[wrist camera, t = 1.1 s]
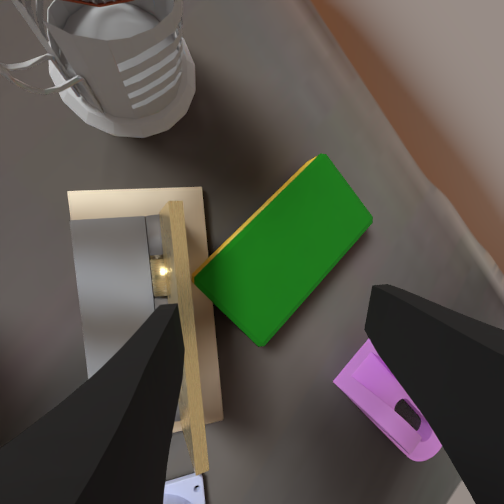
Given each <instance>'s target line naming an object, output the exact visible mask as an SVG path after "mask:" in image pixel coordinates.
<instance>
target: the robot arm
mask: <svg viewBox="0 0 504 504" xmlns="http://www.w3.org/2000/svg"><path fill="white" fill-rule="evenodd" d="M364 330H365V331H366V333H367V335H368V337H369V339H370V341H371V343H372V345H373V346H374V348H375V350H376V351H377V353H378V355H379V356H380V357H381V359H382V360H383V362H384V363H385V364H386V366H387V367H388V369H389V370H390V371H391V373H392V374H393V375H394V377H395V378H396V379H397V381H398V382H399V383H400V385H401V386H402V387H403V389H404V390H405V391H406V393H407V394H408V396H409V397H410V398H411V400H412V401H413V402H414V404H415V405H416V406H417V408H418V409H419V410H420V412H421V413H422V415H423V416H424V418H425V419H426V421H427V422H428V423H429V425H430V427H431V428H432V430H433V432H434V433H435V435H436V436H437V438H438V440H439V441H440V443H441V445H442V446H443V448H444V449H445V451H446V453H447V454H448V456H449V458H450V459H451V461H452V463H453V465H454V466H455V468H456V470H457V472H458V473H459V475H460V477H461V478H462V480H463V482H464V484H465V485H466V487H467V489H468V491H469V492H470V494H471V496H472V498H473V500H474V501H475V503H476V504H504V330H502V329H499V328H496V327H494V326H491V325H488V324H486V323H483V322H481V321H478V320H475V319H473V318H470V317H468V316H465V315H463V314H460V313H458V312H455V311H453V310H451V309H448V308H446V307H443V306H441V305H439V304H436V303H434V302H432V301H429V300H427V299H424V298H422V297H420V296H417V295H415V294H413V293H410V292H408V291H405V290H403V289H400V288H397V287H395V286H391V285H388V284H385V285H374V286H372V291H371V296H370V302H369V307H368V312H367V318H366V323H365V329H364ZM184 354H185V347H184V340H183V334H182V327H181V321H180V314H179V308H178V303H174V304H163V305H159V306H158V307H157V308H156V309H155V311H154V312H153V313H152V314H151V315H150V316H149V317H148V319H147V320H146V321H145V322H144V323H143V324H142V325H141V327H140V328H139V329H138V330H137V331H136V332H135V333H134V334H133V335H132V337H131V338H130V339H129V340H128V341H127V342H126V343H125V344H124V345H123V346H122V347H121V348H120V349H119V350H118V351H117V352H116V353H115V354H114V355H113V356H112V357H111V358H110V359H109V360H108V361H107V362H106V363H105V364H104V365H103V366H102V367H101V368H100V369H99V370H98V371H97V372H96V373H95V374H94V375H93V376H92V377H91V378H89V379H88V380H87V381H86V382H85V383H84V384H83V385H81V386H80V387H79V388H78V389H77V390H76V391H74V392H73V393H72V394H71V395H70V396H69V397H67V398H66V399H65V400H64V401H62V402H61V403H60V404H59V405H58V406H56V407H55V408H54V409H52V410H51V411H50V412H48V413H47V414H46V415H44V416H43V417H42V418H41V419H39V420H38V421H37V422H35V423H34V424H33V425H31V426H30V427H29V428H27V429H26V430H25V431H23V432H22V433H21V434H20V435H18V436H17V437H16V438H14V439H13V440H11V441H10V442H9V443H7V444H6V445H4V446H3V447H2V448H0V504H205V495H204V485H203V476H202V474H199V475H197V476H196V475H195V473H193V474H190V475H186V476H183V477H179V478H176V479H173V480H169V481H166V482H165V480H166V470H167V462H168V455H169V448H170V443H171V438H172V432H173V427H174V422H175V417H176V411H177V406H178V401H179V395H180V390H181V385H182V379H183V369H184ZM197 485H199V487H197V488H195V486H197Z"/></svg>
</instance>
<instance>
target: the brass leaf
mask: <svg viewBox="0 0 504 504" xmlns="http://www.w3.org/2000/svg"><path fill="white" fill-rule="evenodd" d="M159 218H160V228H161V238H162V247H163V257H164V258H158V259H151V260H150V263H151V273H152V282H153V292H154V296H168V304H174V303H178V308H179V314H180V321H181V327H182V334H183V340H184V347H185V354H184V369H183V379H182V385H181V390H180V395H179V401H178V404H179V414H180V423H181V427H182V430H183V434H184V437H185V441H186V444H187V448H188V451H189V455H190V458H191V461H192V465H193V468H194V472H195V475H196V476H197V475H199V474H202V473H204V472H206V471H208V470H209V464H208V454H207V444H206V433H205V423H204V413H203V403H202V392H201V382H200V372H199V362H198V351H197V341H196V331H195V321H194V310H193V300H192V290H191V280H190V270H189V259H188V249H187V239H186V229H185V218H184V208H183V201H168V202H167V203H166V204H165V206H164V207H163V208H162V209H161V211H160V212H159Z"/></svg>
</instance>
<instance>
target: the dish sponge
mask: <svg viewBox="0 0 504 504" xmlns="http://www.w3.org/2000/svg"><path fill="white" fill-rule="evenodd" d="M372 222H373V217H372V215H371V214H370V213H369V211H368V210H367V209H366V207H365V206H364V205H363V203H362V202H361V201H360V199H359V198H358V197H357V195H356V194H355V192H354V191H353V190H352V188H351V187H350V186H349V184H348V183H347V182H346V180H345V179H344V178H343V176H342V175H341V174H340V172H339V171H338V170H337V168H336V167H335V165H334V164H333V163H332V161H331V160H330V159H329V157H328V156H327V155H326V154H319V155H318V156H316V157H314V158H313V159H311V160H309V161H308V162H306V163H305V164H304V165H303V166H302V167H301V168H300V169H299V170H298V171H297V172H296V173H295V174H294V175H293V176H292V177H291V178H290V179H289V180H288V181H287V182H286V183H285V184H284V185H283V186H282V187H280V188H279V189H278V190H277V191H276V192H275V193H274V194H273V195H272V196H271V197H270V198H269V199H268V200H267V201H266V202H265V203H264V204H263V205H262V206H261V207H260V208H259V209H258V210H257V211H256V212H255V213H254V214H253V215H252V216H251V217H250V218H249V219H248V220H247V221H246V222H245V223H244V224H243V225H242V226H240V227H239V228H238V229H237V230H236V231H235V232H234V233H233V234H232V235H231V236H230V237H229V238H228V239H227V240H226V241H225V242H224V243H223V244H222V245H221V246H220V247H219V248H218V249H217V250H216V251H215V252H214V253H213V254H212V255H211V256H210V257H209V258H208V259H207V260H206V261H205V262H204V263H203V264H202V265H200V266H199V267H198V268H197V269H196V270H195V271H194V272H193V273H192V279H191V281H192V282H193V283H194V285H195V286H196V287H197V288H198V289H200V290H201V291H202V292H203V293H204V294H205V295H206V296H207V297H208V298H209V299H210V300H211V301H212V302H213V303H214V304H215V305H216V306H217V307H218V308H219V309H220V310H221V311H222V312H223V313H224V314H225V315H226V316H227V317H228V318H229V319H230V320H231V321H232V322H233V323H234V324H236V325H237V326H238V327H239V328H240V329H241V330H242V331H243V332H244V333H245V334H246V335H247V336H248V337H249V338H250V339H251V340H252V341H253V342H254V343H255V344H256V345H257V346H258V347H259V346H265V345H266V344H267V343H268V341H269V340H270V339H271V338H272V337H273V336H274V335H275V334H276V332H277V331H278V330H279V329H280V328H281V327H282V326H283V324H284V323H285V322H286V321H287V320H288V319H289V318H290V316H291V315H292V314H293V313H294V312H295V311H296V310H297V308H298V307H299V306H300V305H301V304H302V303H303V302H304V300H305V299H306V298H307V297H308V296H309V295H310V294H311V292H312V291H313V290H314V289H315V288H316V287H317V286H318V284H319V283H320V282H321V281H322V280H323V279H324V278H325V276H326V275H327V274H328V273H329V272H330V271H331V270H332V268H333V267H334V266H335V265H336V264H337V263H338V262H339V260H340V259H341V258H342V257H343V256H344V255H345V254H346V252H347V251H348V250H349V249H350V248H351V247H352V246H353V244H354V243H355V242H356V241H357V240H358V239H359V238H360V236H361V235H362V234H363V233H364V232H365V231H366V230H367V228H368V227H369V226H370V225H371V224H372Z"/></svg>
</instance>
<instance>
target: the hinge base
mask: <svg viewBox="0 0 504 504" xmlns="http://www.w3.org/2000/svg"><path fill="white" fill-rule="evenodd" d="M67 192H68V200H69V209H70V217H71V220H70V228H71V237H72V245H73V254H74V262H75V270H76V279H77V287H78V296H79V304H80V312H81V321H82V329H83V338H84V346H85V354H86V363H87V371H88V379H89V378H91V377H92V376H93V375H94V374H95V373H96V372H97V371H98V370H99V369H100V368H101V367H102V366H103V365H104V364H105V363H106V362H107V361H108V360H109V359H110V358H111V357H112V356H113V355H114V354H115V353H116V352H117V351H118V350H119V349H120V348H121V347H122V346H123V345H124V344H125V343H126V342H127V341H128V340H129V339H130V338H131V337H132V335H133V334H134V333H135V332H136V331H137V330H138V329H139V328H140V327H141V325H142V324H143V323H144V322H145V321H146V320H147V319H148V317H149V316H150V315H151V314H152V313H153V312H154V311H155V309H156V308H157V307H158V306H159V305H163V304H168V296H154V292H153V282H152V273H151V263H150V260H151V259H158V258H164V257H163V247H162V238H161V228H160V218H159V212H160V211H161V209H162V208H163V207H164V206H165V204H166V203H167V202H168V201H183V208H184V218H185V229H186V239H187V249H188V259H189V270H190V280H191V279H192V273H193V272H194V271H195V270H196V269H197V268H198V267H199V266H200V265H202V264H203V263H204V262H205V261H206V260H207V259H208V247H207V237H206V226H205V215H204V205H203V194H202V187H180V188H150V189H120V190H89V191H67ZM191 290H192V300H193V310H194V321H195V331H196V341H197V351H198V362H199V372H200V382H201V392H202V403H203V413H204V423H205V424H209V423H213V422H217V421H221V420H224V418H223V407H222V396H221V386H220V375H219V364H218V354H217V343H216V333H215V322H214V311H213V302H212V301H211V300H210V299H209V298H208V297H207V296H206V295H205V294H204V293H203V292H202V291H201V290H200V289H198V288H197V287H196V286H195V285H194V283H193V282H192V281H191ZM178 431H182V427H181V423H180V414H179V404H178V406H177V411H176V417H175V422H174V427H173V432H172V433H174V432H178Z"/></svg>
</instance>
